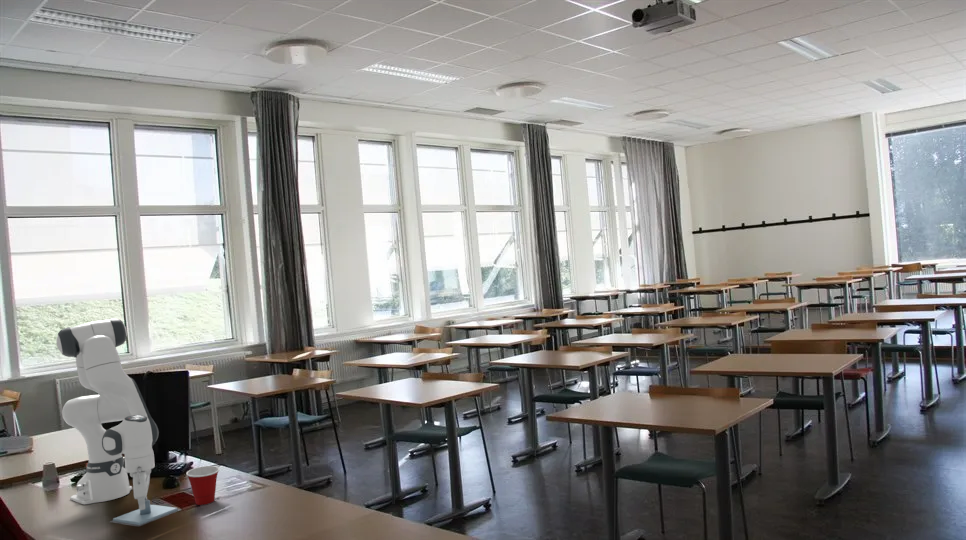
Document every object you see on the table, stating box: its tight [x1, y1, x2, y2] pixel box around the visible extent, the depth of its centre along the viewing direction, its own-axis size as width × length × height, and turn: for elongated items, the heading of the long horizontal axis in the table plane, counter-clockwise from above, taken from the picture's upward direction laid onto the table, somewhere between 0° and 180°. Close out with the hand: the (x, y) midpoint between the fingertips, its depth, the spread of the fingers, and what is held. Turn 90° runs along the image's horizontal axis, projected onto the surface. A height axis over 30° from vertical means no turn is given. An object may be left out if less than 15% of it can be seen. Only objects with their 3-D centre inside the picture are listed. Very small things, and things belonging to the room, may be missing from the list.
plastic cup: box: [186, 465, 220, 506], centre depth 240 cm, size 11×11×12 cm
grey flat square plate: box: [108, 508, 182, 528], centre depth 230 cm, size 16×16×1 cm
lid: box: [112, 499, 179, 526], centre depth 231 cm, size 14×14×5 cm
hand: (143, 505), depth 230 cm, fingers open, 8 cm apart
